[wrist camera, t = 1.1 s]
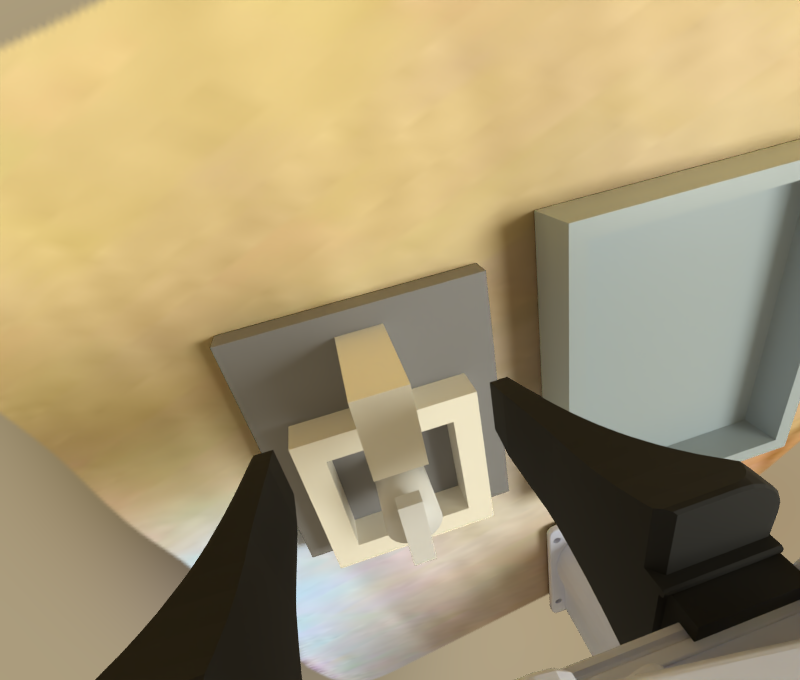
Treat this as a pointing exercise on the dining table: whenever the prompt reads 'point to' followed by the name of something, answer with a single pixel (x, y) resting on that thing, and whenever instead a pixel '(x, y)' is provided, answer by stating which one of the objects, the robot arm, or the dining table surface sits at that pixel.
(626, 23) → the dining table surface
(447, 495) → the square frame with tab
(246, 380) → the plate
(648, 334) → the tray
